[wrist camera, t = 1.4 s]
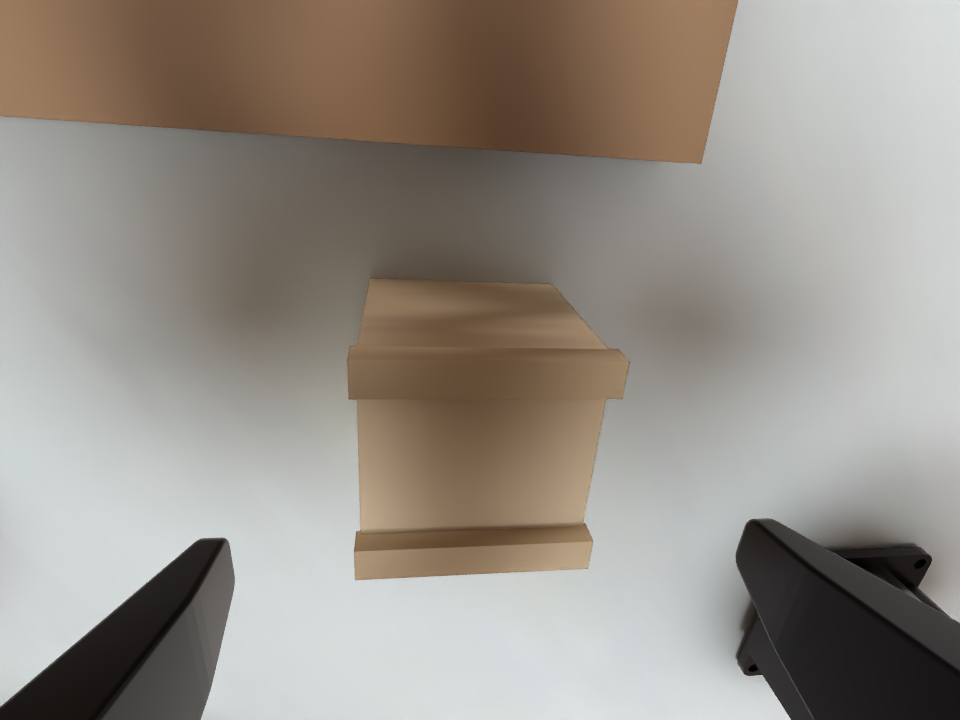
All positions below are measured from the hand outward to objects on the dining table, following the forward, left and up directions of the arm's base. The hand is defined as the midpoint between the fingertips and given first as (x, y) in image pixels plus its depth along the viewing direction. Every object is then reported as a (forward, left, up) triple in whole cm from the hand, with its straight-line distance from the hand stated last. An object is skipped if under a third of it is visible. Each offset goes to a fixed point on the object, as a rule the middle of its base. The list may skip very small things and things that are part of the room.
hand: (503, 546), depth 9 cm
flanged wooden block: (0, 0, -7) cm, 7 cm away
